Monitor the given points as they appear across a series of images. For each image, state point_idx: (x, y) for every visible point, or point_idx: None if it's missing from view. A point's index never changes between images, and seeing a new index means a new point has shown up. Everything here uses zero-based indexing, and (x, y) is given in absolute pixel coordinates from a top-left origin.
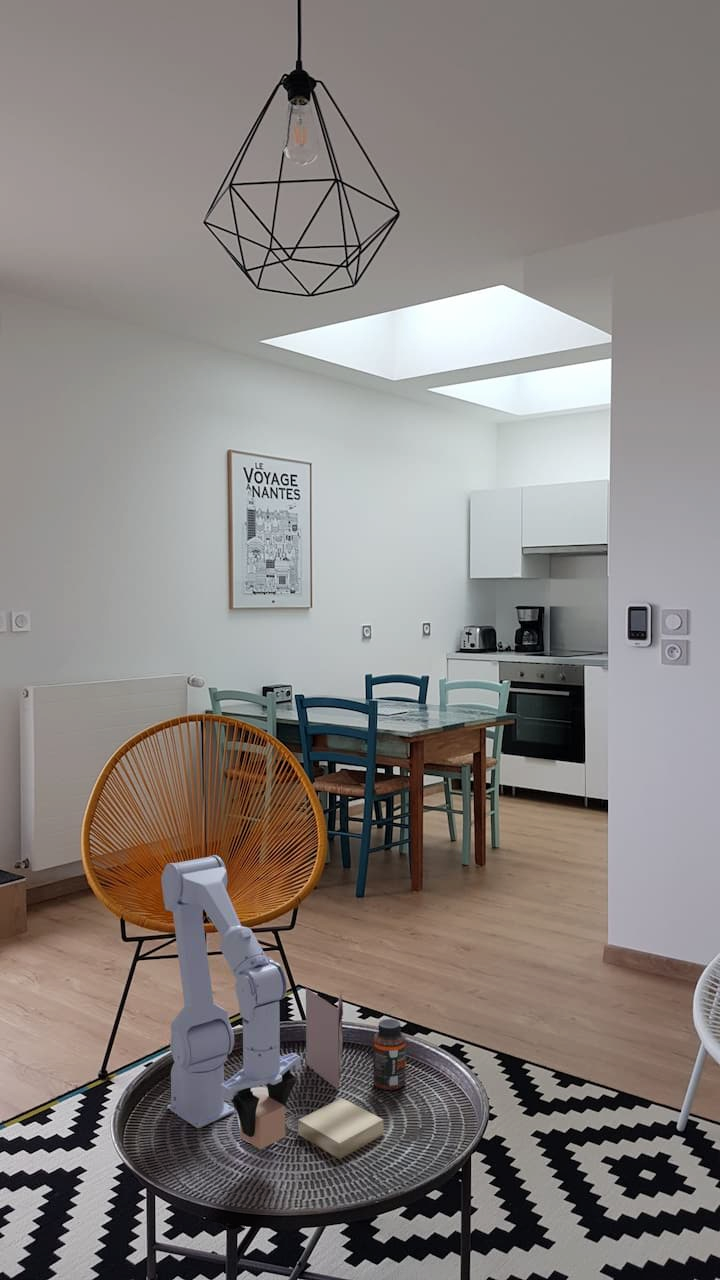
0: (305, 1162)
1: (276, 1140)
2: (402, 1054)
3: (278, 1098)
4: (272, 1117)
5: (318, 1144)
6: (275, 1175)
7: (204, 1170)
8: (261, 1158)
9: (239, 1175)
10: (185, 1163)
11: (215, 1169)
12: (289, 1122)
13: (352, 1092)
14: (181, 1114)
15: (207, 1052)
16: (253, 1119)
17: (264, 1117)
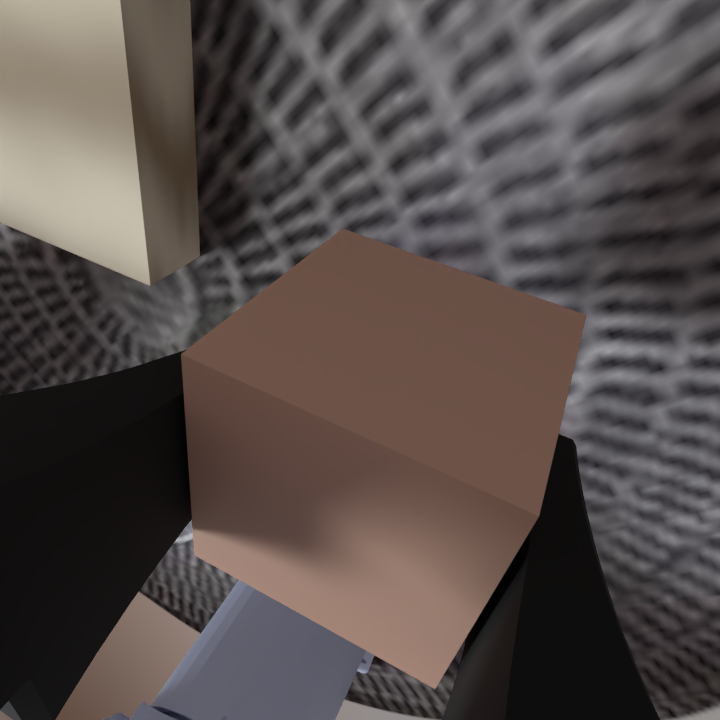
0: (330, 84)
1: (419, 260)
2: None
3: (156, 456)
4: (374, 389)
5: (187, 116)
6: (524, 170)
7: (640, 505)
8: None
9: (612, 350)
10: (619, 579)
11: (610, 467)
12: (174, 329)
13: None
14: None
15: None
16: (555, 553)
17: (470, 467)
